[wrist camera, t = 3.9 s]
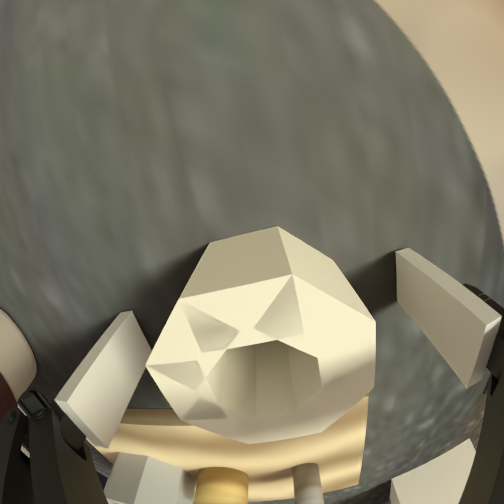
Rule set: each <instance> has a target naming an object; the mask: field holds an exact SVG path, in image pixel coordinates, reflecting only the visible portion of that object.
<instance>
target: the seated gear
mask: <svg viewBox="0 0 504 504" xmlns="http://www.w3.org/2000/svg"><path fill="white" fill-rule="evenodd" d="M195 486H196V481H195V480H194V479H193V478H191V477H190V476H189V475H188V474H187V473H186V472H185V471H184V470H183V469H181V468H179V467H176V466H173V465H170V464H168V463H165V462H162V461H160V460H157V459H155V458H152V457H150V456H146V455H138V454H130V453H123V452H120V453H119V454H118V456H117V458H116V460H115V462H114V464H113V467H112V470H111V472H110V475H109V478H108V481H107V483H106V486H105V489H104V494H105V496H106V499H107V501H108V503H109V504H193V498H194V492H195Z"/></svg>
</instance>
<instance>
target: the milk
mask: <svg viewBox="0 0 504 504" xmlns="http://www.w3.org/2000/svg"><path fill="white" fill-rule="evenodd" d="M475 454H476V451H475V449H474V447H473V445H472V443H471V440H470V438H469V439H467V440H466V441H464V442H463V443H461V444H459V445H458V446H456V447H455V448H453V449H451V450H449V451H448V452H446V453H444V454H442V455H441V456H439V457H437V458H435V459H433V460H431V461H429V462H427V463H426V464H424V465H421V466H419V467H417V468H415V469H413V470H411V471H409V472H407V473H404V474H402V475H400V476H397V477H395V478H392V480H391V489H390V497H389V498H390V501H391V504H458V503H459V501H460V498H461V496H462V493H463V491H464V488H465V485H466V482H467V480H468V477H469V474H470V471H471V467H472V464H473V461H474V457H475Z"/></svg>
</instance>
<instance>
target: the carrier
mask: <svg viewBox="0 0 504 504" xmlns="http://www.w3.org/2000/svg"><path fill="white" fill-rule="evenodd" d="M367 410H368V394H367V395H366V396H364V397H363V398H362V399H361V400H360V401H359V402H358V403H357V404H355V405H354V406H353V407H352V408H351V409H350V410H349V411H347V412H346V413H345V414H344V415H343V416H341V417H340V418H339V419H338V420H336V421H335V422H334V423H333V424H331V425H330V426H329V427H328V428H326V429H325V430H324V431H322V432H321V433H316V434H311V435H306V436H301V437H296V438H290V439H284V440H278V441H270V442H263V443H254V444H247V443H243V442H240V441H237V440H233V439H230V438H227V437H224V436H221V435H218V434H215V433H212V432H210V431H207V430H204V429H202V428H199V427H196V426H194V425H191V424H189V423H186V422H184V421H182V420H180V418H179V417H178V415H177V414H176V413H175V411H174V410H173V409H129V408H126V410H125V412H124V414H123V417H122V419H121V421H120V423H119V425H118V428H117V430H116V432H115V434H114V437H113V439H112V441H111V443H110V446H109V448H104V447H99V446H95V445H94V444H93V443H92V442H91V441H90V440H89V439H88V438H87V437H86V439H87V440H88V441H89V442H90V443H91V444H92V445H93V446H94V447H95V448H96V449H97V450H98V451H99V452H100V453H101V454H102V455H103V456H104V457H106V458H107V459H108V460H109V461H110V462H111V463H112V464H114V462H115V460H116V458H117V456H118V454H119V453H120V452H123V453H130V454H138V455H146V456H150V457H152V458H155V459H157V460H160V461H162V462H165V463H168V464H170V465H173V466H176V467H179V468H181V469H183V470H184V471H185V472H186V473H187V474H188V475H189V476H190V477H191V478H193V479H194V480H195V481H196V486H195V492H194V498H193V501H194V504H248V502H257V501H270V500H280V499H289V498H295V504H324V500H323V493H325V492H329V491H334V490H338V489H342V488H346V487H350V486H354V485H357V484H358V482H359V477H360V471H361V464H362V457H363V450H364V442H365V433H366V422H367Z"/></svg>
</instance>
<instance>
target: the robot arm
mask: <svg viewBox="0 0 504 504" xmlns="http://www.w3.org/2000/svg"><path fill="white" fill-rule="evenodd" d="M395 254H396V275H397V302H398V304H399V305H400V306H401V307H402V308H403V309H404V310H405V312H406V313H407V314H408V315H409V316H410V317H411V318H412V320H413V321H414V322H415V323H416V324H417V326H418V327H419V328H420V329H421V330H422V332H423V333H424V334H425V335H426V336H427V338H428V339H429V340H430V341H431V343H432V344H433V345H434V346H435V348H436V349H437V350H438V351H439V353H440V354H441V355H442V356H443V358H444V359H445V360H446V362H447V363H448V364H449V365H450V367H451V368H452V369H453V371H454V372H455V373H456V375H457V376H458V377H459V379H460V380H461V381H462V383H463V384H464V386H465V387H466V388H468V387H470V386H472V385H473V384H475V383H477V382H478V381H480V380H482V378H483V375H484V372H485V370H486V367H487V368H488V370H489V371H490V372H491V374H490V377H489V379H488V382H487V384H486V386H485V389H484V391H483V394H485V393H486V391H487V389H488V391H487V399H486V406H485V412H484V418H483V423H482V428H481V433H480V438H479V442H478V446H477V450H476V454H475V457H474V461H473V464H472V467H471V471H470V474H469V477H468V480H467V482H466V485H465V488H464V491H463V493H462V496H461V498H460V501H459V503H458V504H504V308H502V307H501V306H500V305H499V304H497V303H496V302H495V301H493V300H492V299H490V297H488V296H487V295H486V294H484V293H483V292H482V291H480V290H479V289H477V288H476V287H474V286H471V285H468V284H463V285H462V284H460V283H459V282H458V281H456V280H455V279H453V278H452V277H451V276H449V275H448V274H446V273H445V272H444V271H442V270H441V269H439V268H438V267H437V266H435V265H434V264H432V263H431V262H429V261H428V260H426V259H425V258H423V257H422V256H420V255H419V254H417V253H416V252H414V251H413V250H411V249H410V248H406V249H402V250H399V251H395ZM151 352H152V350H151V348H150V346H149V344H148V342H147V340H146V338H145V336H144V334H143V332H142V330H141V328H140V326H139V324H138V322H137V320H136V318H135V316H134V314H133V311H126V312H120V314H119V315H118V316H117V317H116V319H115V320H114V321H113V322H112V324H111V325H110V326H109V327H108V329H107V330H106V331H105V332H104V334H103V335H102V336H101V337H100V339H99V340H98V341H97V342H96V344H95V345H94V346H93V348H92V349H91V350H90V352H89V353H88V354H87V355H86V357H85V358H84V359H83V361H82V362H81V363H80V365H79V366H78V367H77V369H76V370H75V371H74V372H73V374H72V375H71V377H70V378H69V379H68V381H67V382H66V384H65V385H64V386H63V388H62V389H61V390H60V392H59V393H58V395H57V396H56V398H55V399H54V401H53V402H52V403H51V404H50V403H49V402H48V401H47V399H46V398H45V397H44V395H43V394H42V393H41V392H40V390H39V389H38V388H36V387H33V388H30V389H28V390H26V391H24V392H23V393H22V394H21V395H20V397H19V398H18V401H17V404H18V405H19V406H20V407H21V409H22V410H23V411H24V412H25V413H26V415H27V416H25V415H24V414H23V413H22V411H21V410H20V409H19V408H17V407H14V408H12V409H9V410H8V411H6V413H5V415H4V417H3V419H2V421H1V424H0V504H109V503H108V501H107V499H106V496H105V494H104V491H103V489H102V486H101V484H100V481H99V478H98V475H97V472H96V469H95V466H94V463H93V460H92V457H91V454H90V450H89V448H88V446H87V444H86V443H85V442H84V441H85V439H86V437H87V438H88V439H89V440H90V441H91V442H92V443H93V444H94V445H95V446H99V447H104V448H109V446H110V443H111V441H112V439H113V437H114V434H115V432H116V430H117V428H118V425H119V423H120V421H121V419H122V417H123V414H124V412H125V410H126V408H127V406H128V404H129V401H130V399H131V397H132V395H133V393H134V391H135V389H136V387H137V385H138V382H139V380H140V378H141V376H142V374H143V372H144V370H145V368H146V366H145V365H146V363H147V360H148V358H149V356H150V354H151ZM21 446H23V447H24V448H25V449H26V450H27V451H28V452H29V453H30V458H28V457H27V456H26V455H25V454H24V453H23V452H22V451H21Z"/></svg>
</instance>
